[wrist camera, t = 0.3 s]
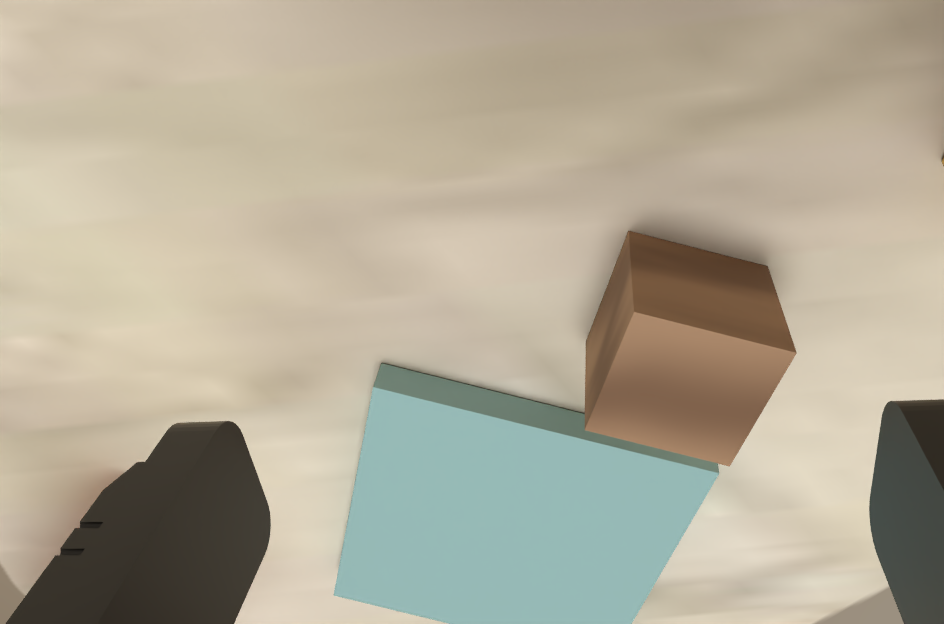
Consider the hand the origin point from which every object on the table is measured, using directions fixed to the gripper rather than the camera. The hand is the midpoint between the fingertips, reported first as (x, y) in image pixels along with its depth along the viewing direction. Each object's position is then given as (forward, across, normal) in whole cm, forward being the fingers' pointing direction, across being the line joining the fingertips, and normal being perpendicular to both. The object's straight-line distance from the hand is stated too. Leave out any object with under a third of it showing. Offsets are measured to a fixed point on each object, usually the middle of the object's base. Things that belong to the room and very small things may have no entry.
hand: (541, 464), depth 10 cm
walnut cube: (+18, -3, +9) cm, 20 cm away
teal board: (+19, +4, +20) cm, 27 cm away
